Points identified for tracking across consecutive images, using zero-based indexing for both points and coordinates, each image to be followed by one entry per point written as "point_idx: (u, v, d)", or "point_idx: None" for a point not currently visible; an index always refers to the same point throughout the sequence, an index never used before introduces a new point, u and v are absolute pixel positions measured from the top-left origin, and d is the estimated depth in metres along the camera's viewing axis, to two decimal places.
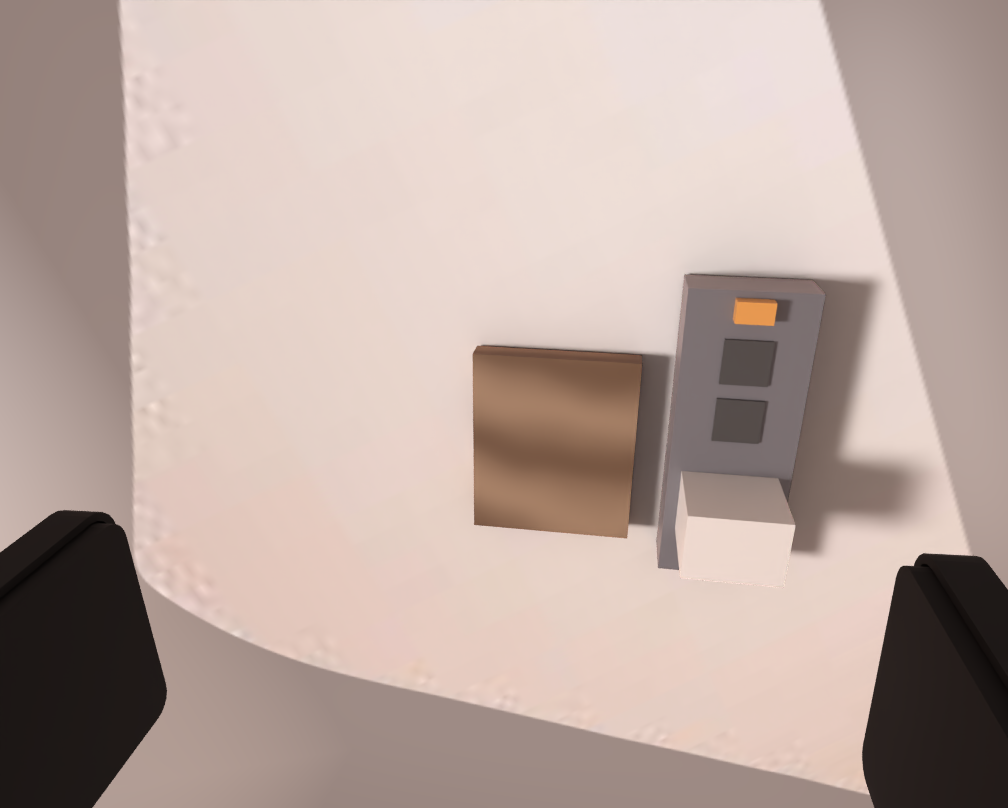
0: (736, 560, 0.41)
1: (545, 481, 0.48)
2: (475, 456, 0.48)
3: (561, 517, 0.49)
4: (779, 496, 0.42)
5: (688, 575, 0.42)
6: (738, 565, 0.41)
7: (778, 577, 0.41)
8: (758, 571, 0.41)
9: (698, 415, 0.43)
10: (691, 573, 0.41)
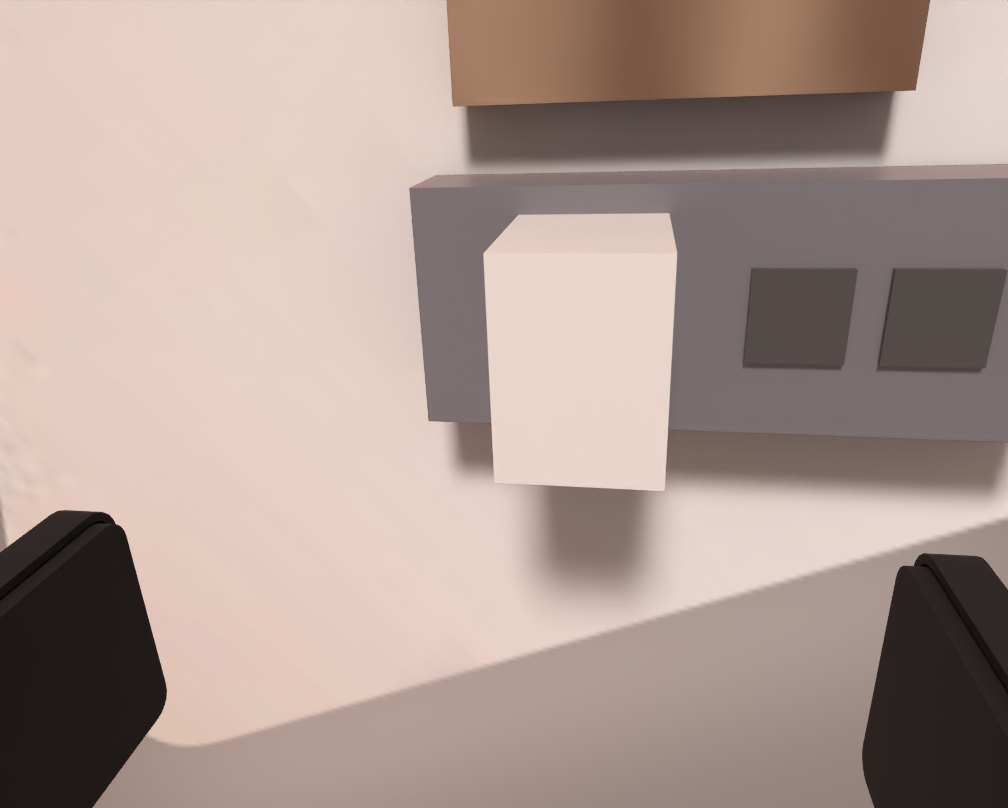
0: (553, 381, 0.17)
1: None
2: None
3: None
4: None
5: (494, 273, 0.16)
6: (541, 385, 0.17)
7: (521, 469, 0.18)
8: (529, 430, 0.17)
9: (812, 234, 0.19)
10: (503, 280, 0.16)
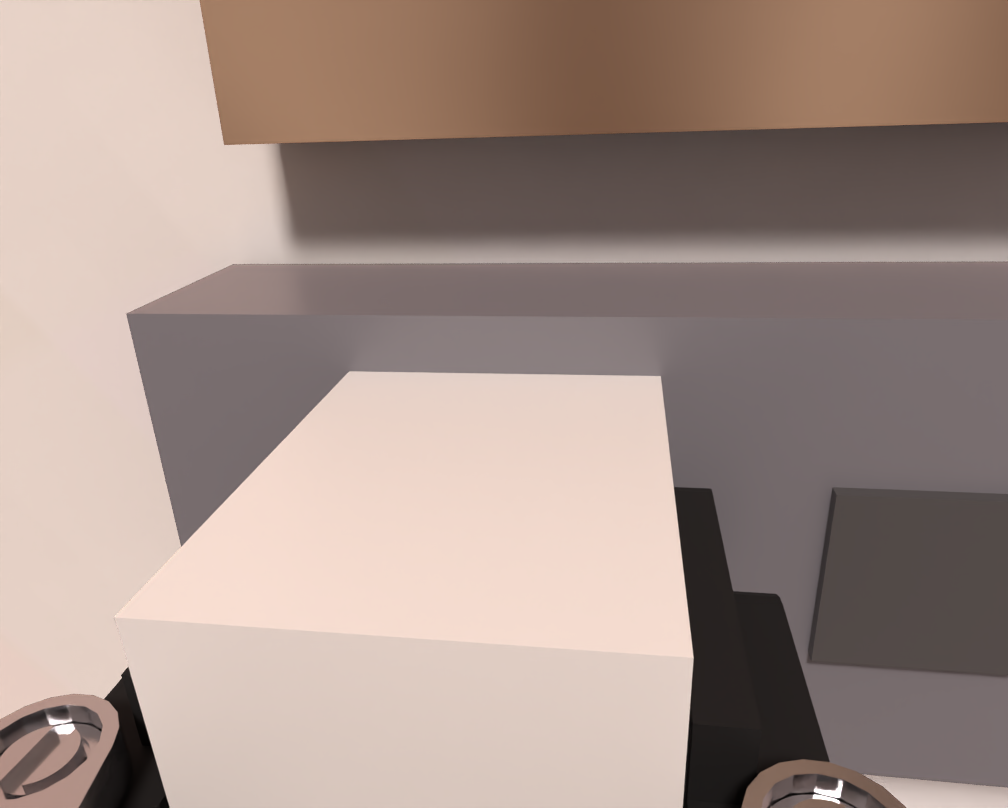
0: None
1: None
2: None
3: None
4: None
5: (156, 667, 0.05)
6: None
7: None
8: None
9: (969, 427, 0.09)
10: (183, 685, 0.06)
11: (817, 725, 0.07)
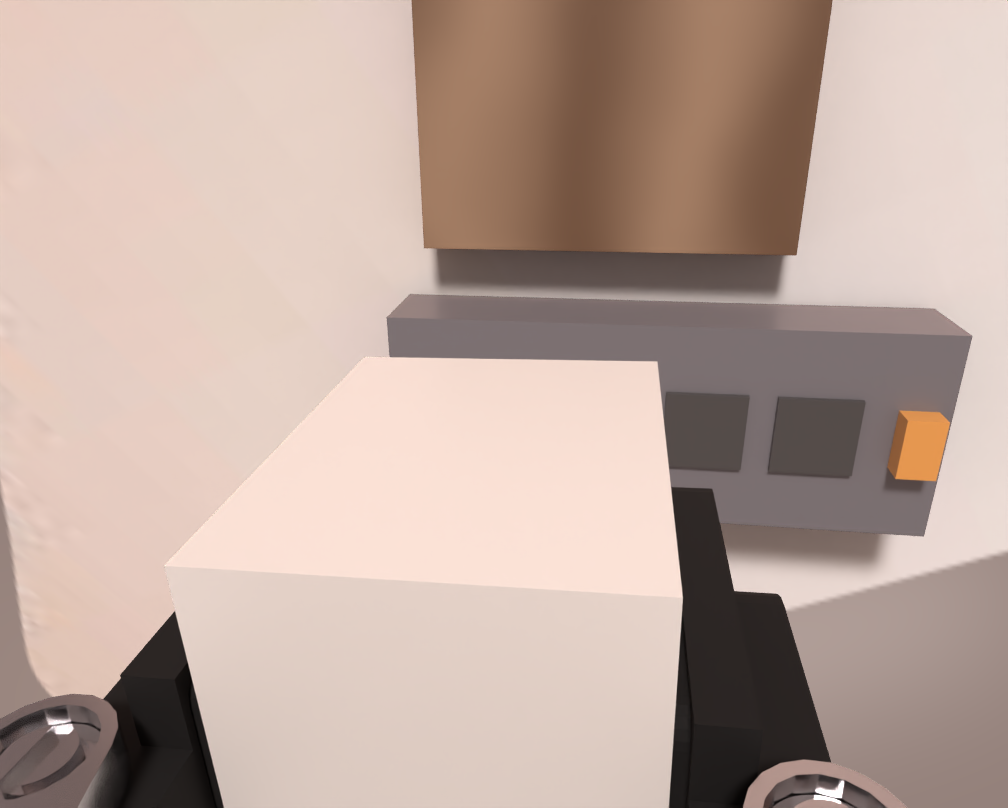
0: None
1: (535, 71, 0.23)
2: None
3: (453, 111, 0.24)
4: None
5: (200, 611, 0.06)
6: None
7: None
8: None
9: (714, 367, 0.24)
10: (223, 628, 0.06)
11: (818, 725, 0.07)
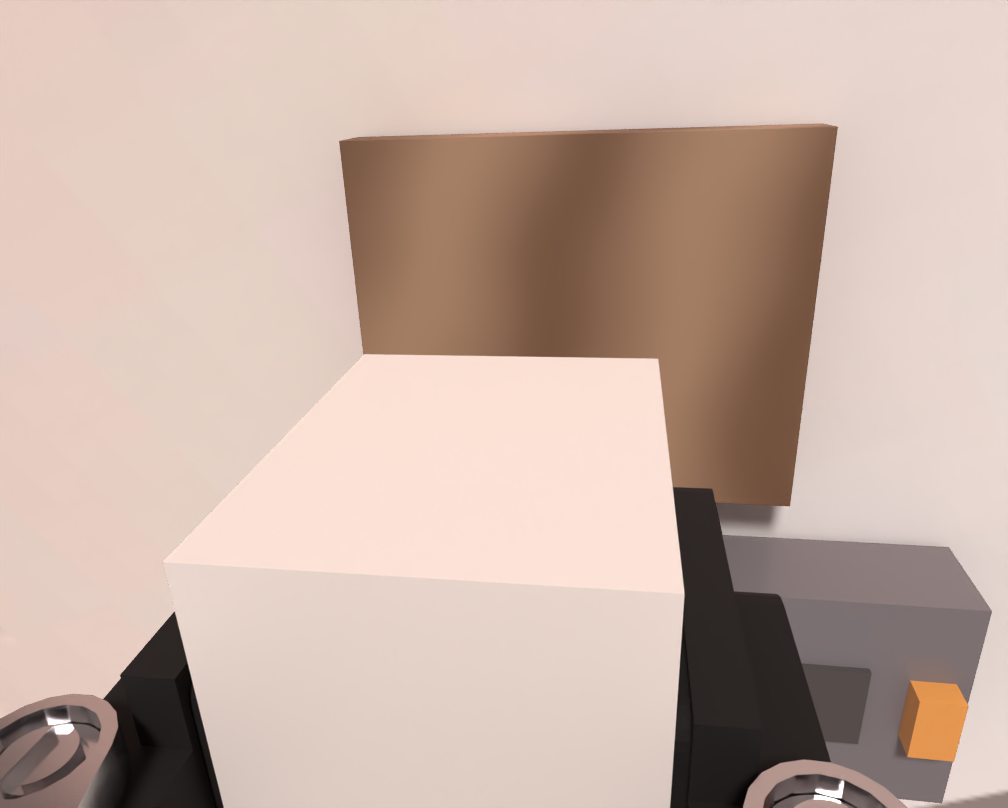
0: None
1: (490, 317, 0.20)
2: (538, 140, 0.18)
3: (403, 354, 0.21)
4: None
5: (199, 608, 0.06)
6: None
7: None
8: None
9: None
10: (222, 624, 0.06)
11: (818, 725, 0.07)
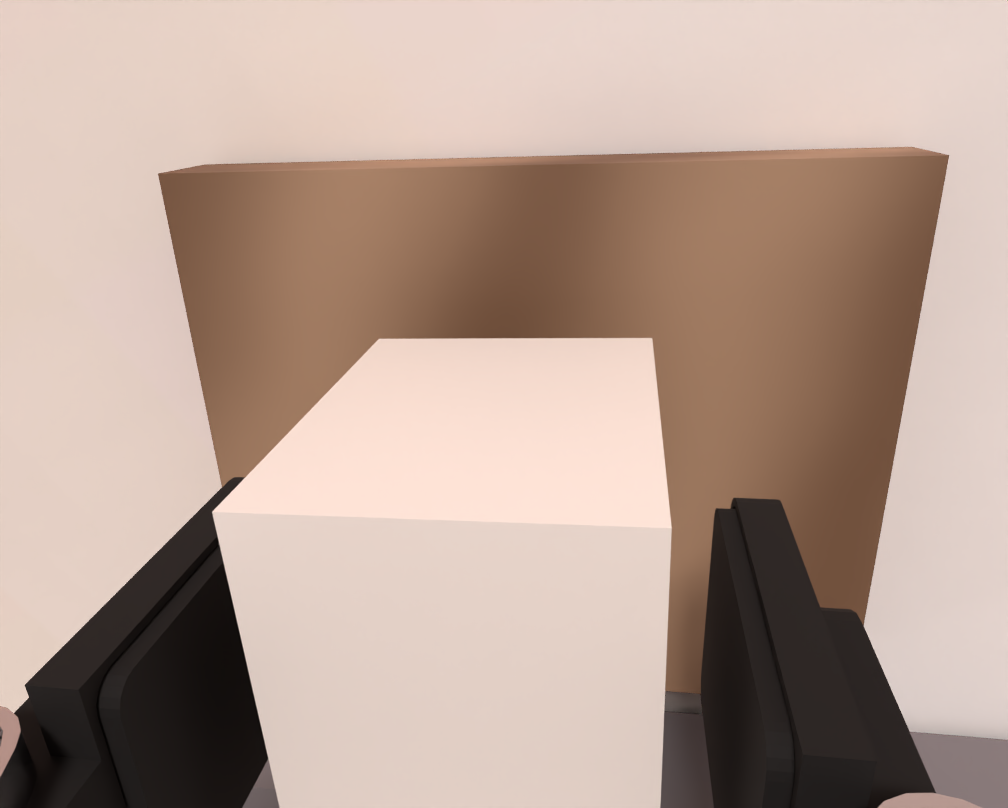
0: (403, 763, 0.08)
1: None
2: (465, 174, 0.12)
3: None
4: None
5: (244, 553, 0.07)
6: (377, 769, 0.08)
7: None
8: None
9: None
10: (265, 568, 0.07)
11: (916, 751, 0.06)
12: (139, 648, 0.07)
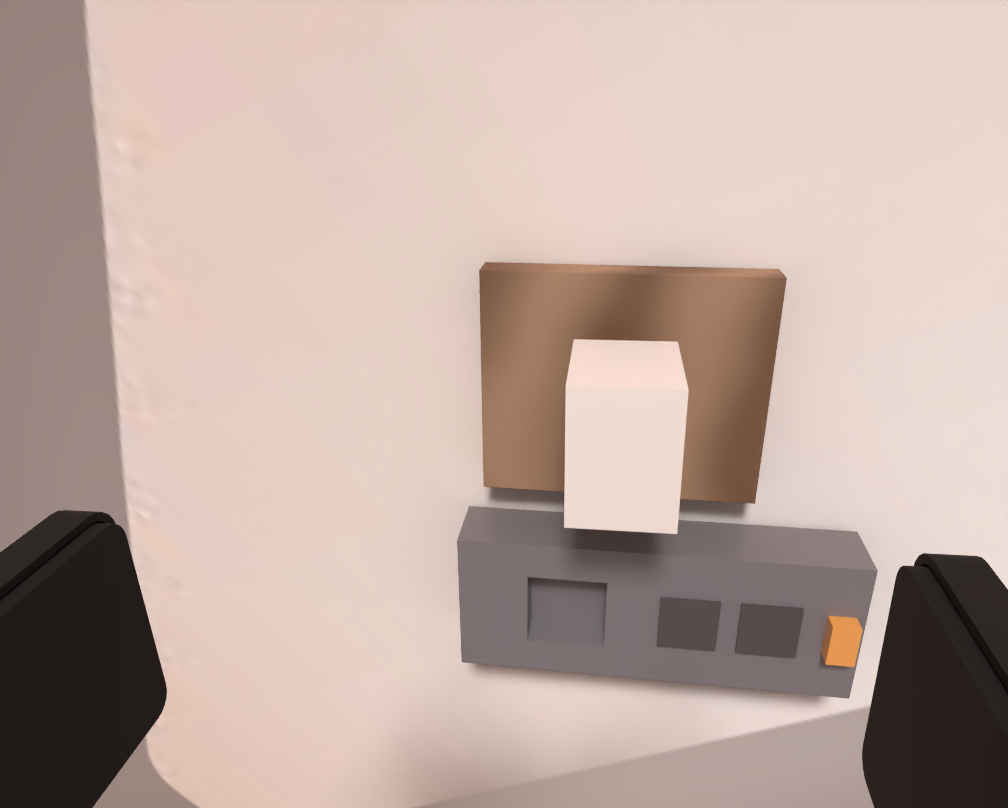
0: (607, 464, 0.26)
1: None
2: (606, 276, 0.30)
3: (508, 401, 0.33)
4: None
5: (572, 398, 0.25)
6: (598, 467, 0.26)
7: (583, 519, 0.27)
8: (589, 494, 0.27)
9: (695, 582, 0.33)
10: (577, 402, 0.25)
11: None
12: None
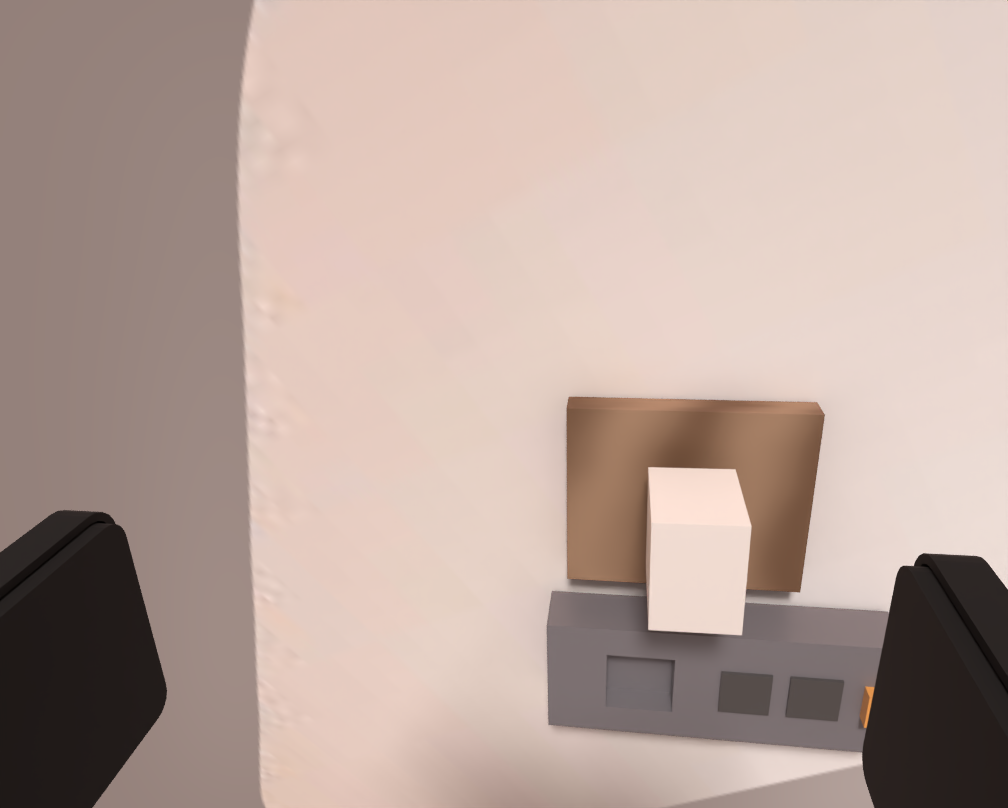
0: (684, 581, 0.32)
1: (640, 494, 0.38)
2: (673, 413, 0.36)
3: (589, 510, 0.39)
4: None
5: (656, 532, 0.32)
6: (677, 583, 0.32)
7: (664, 623, 0.33)
8: (669, 604, 0.33)
9: (751, 659, 0.39)
10: (660, 535, 0.32)
11: None
12: None
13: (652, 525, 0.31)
